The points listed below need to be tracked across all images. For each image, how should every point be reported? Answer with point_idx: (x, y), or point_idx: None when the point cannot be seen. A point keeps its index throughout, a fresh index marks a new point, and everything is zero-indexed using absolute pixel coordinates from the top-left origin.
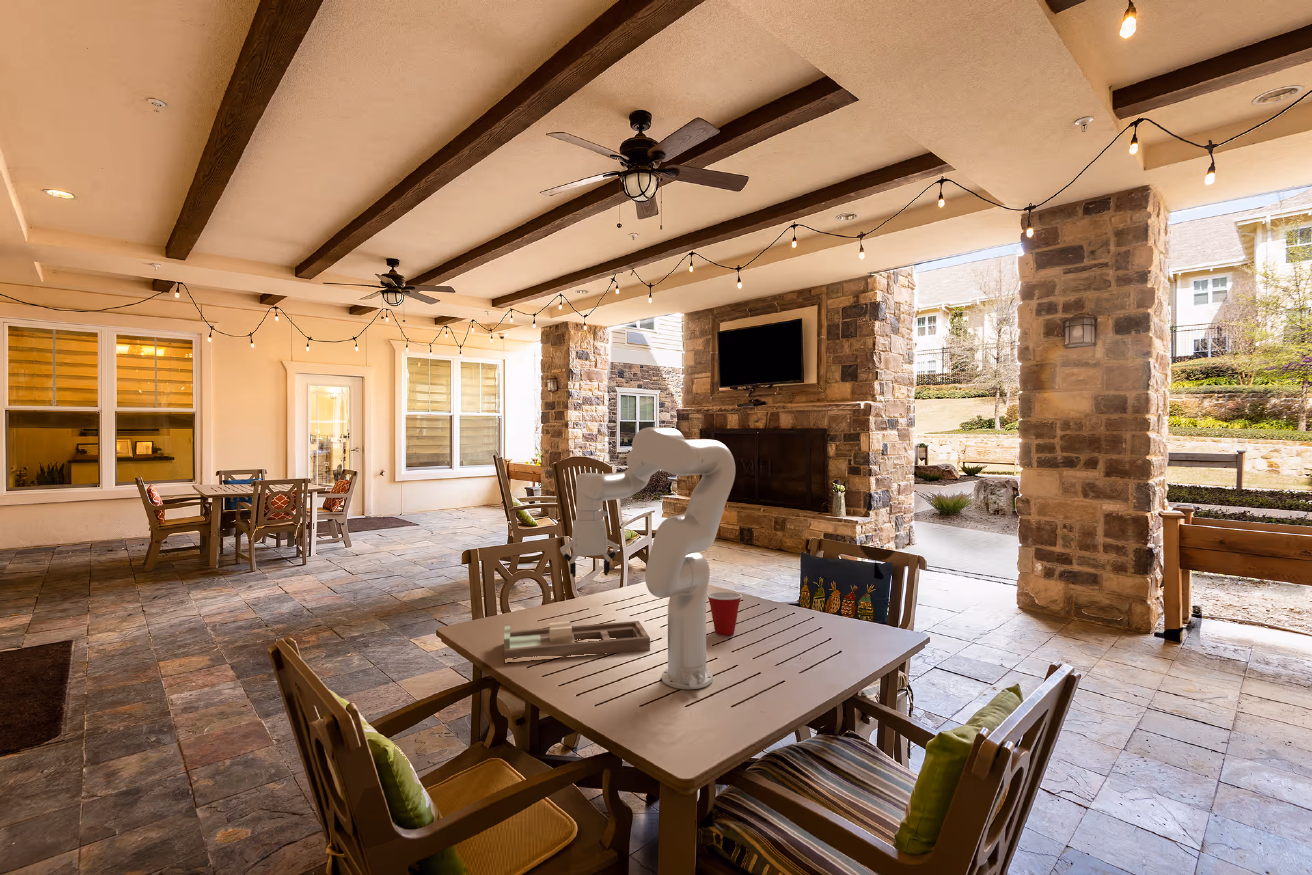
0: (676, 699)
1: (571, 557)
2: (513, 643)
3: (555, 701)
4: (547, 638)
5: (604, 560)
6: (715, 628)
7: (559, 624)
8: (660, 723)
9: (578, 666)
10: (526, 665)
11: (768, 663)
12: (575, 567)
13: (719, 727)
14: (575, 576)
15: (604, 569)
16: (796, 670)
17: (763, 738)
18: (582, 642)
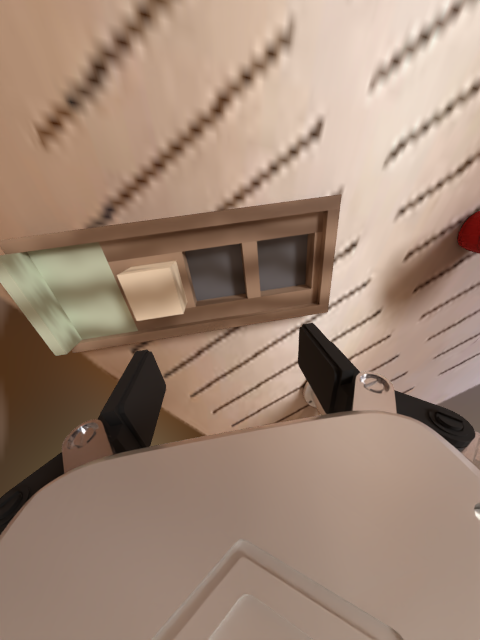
0: (303, 416)
1: (82, 464)
2: (64, 299)
3: (194, 421)
4: None
5: (340, 371)
6: (468, 235)
7: (148, 287)
8: None
9: (207, 352)
10: (128, 346)
11: (431, 353)
12: (154, 429)
13: None
14: (164, 387)
15: (308, 362)
16: (442, 369)
17: None
18: (209, 325)
